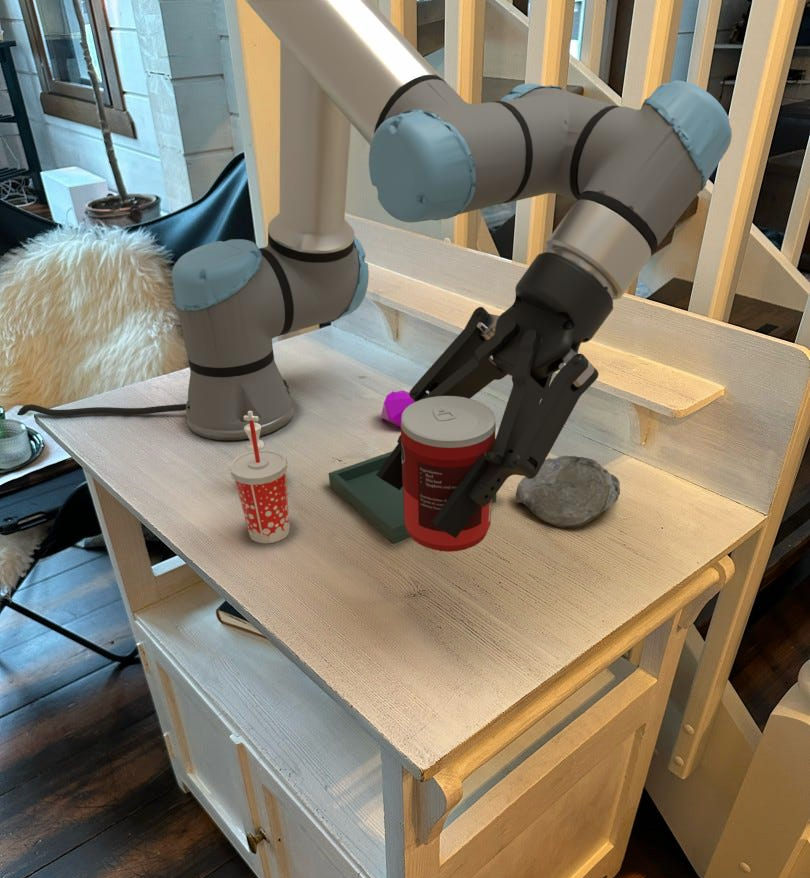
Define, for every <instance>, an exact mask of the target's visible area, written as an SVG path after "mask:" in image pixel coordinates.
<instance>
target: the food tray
mask: <svg viewBox="0 0 810 878" xmlns="http://www.w3.org/2000/svg"><path fill="white" fill-rule="evenodd" d="M392 452H393V450H392V451H389V452H386V453H383V454H380V455H377V456H375V457H374V456H373V457H372V458H368V459H365V460H363V461H359V462H357V463H354V464H351V465H348V466H345V467H342V468H340V469H336V470H334V471H331V472H328V479H329V487H330V489H332V490H333V491H334V492H335V493H336V494H337V495H339V496H340V497H341V498H342V499H343V500H344V501H345V502H346V503H347V504H348V505H350V506H351V507H352V508H353V509H354V510H355V511H356V512H357V513H359V514H360V515H361V516H362V517H363V518H364V519H365V520H366V521H367V522H368V523H370V524H371V525H372V526H373V527H374V528H375V529H376V530H377V531H378V532H380V533H381V534H382V535H383V536H384V537H385V538H387V540H388V541H389V542H391V543H392V544H395V543H398V542H400V541H402V540H405V539H407V538H409V537H410V538H411V536H410V535H409V533H408V531H407V528H406V526H405V522H404V505H403V487H402V488H401V489H400V490H398V489H397V488H395V487H393V486H392V485H390V484H388V483H387V482H385V481H384V480H382V479H380V478H379V477H378V476H377V475H376V474H377V473H378V471H379V470H380V469H381V467H382V466H383V464H384V463H385V462H386V460H387V459H388V457H389V456H390V454H391V453H392ZM495 502H497V493H496V494H495V496H494V497H493V498H492V504H494V503H495Z"/></svg>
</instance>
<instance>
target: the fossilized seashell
mask: <svg viewBox="0 0 810 878" xmlns="http://www.w3.org/2000/svg"><path fill="white" fill-rule="evenodd" d="M620 485H621V484H620V480H619V478H618V477H617V476H616V475H614V474H613V473H611V472H610V471H609V470H608V469H606V468H604V467H603V466H602V465H601V464H600V463H598V461H597V460H594V459H592V458H589V457H583V456H576V455H560V456H559V457H554V458H551V457H547V458H546V459H545V461H544V463H543V465H542V467H541V468H540V470H539V472H538V474H537V475H536V476H535V477H534V478H532V479H528V478H526V477H525V476H523V477H522V479H521V480H520V482H518V483H517V486H516V491H515V497H514V499H515V503H517V504H523V505H524V506H526V507H527V509H528V510H529V511H531V513H532V514H533V515H534V516H535V517H536V518H538V520H540V521H543V522H545V523H547V524H550V525H553V526H555V527H558V528H563V529H571V528H572V529H573V528H577V527H582V526H584V525H586V524H588V523H589V522H590V521H593V520H595V518H596V517H598V516H599V515H600V514H601V513H602V512H604V511H607V510H608V509H610V508H611V507H612V506H613V505H615V503H616V502H617V501H618V500H619V495H620V494H621V486H620Z"/></svg>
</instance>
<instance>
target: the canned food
mask: <svg viewBox="0 0 810 878" xmlns="http://www.w3.org/2000/svg"><path fill="white" fill-rule="evenodd" d="M496 428H497V427H496V416H495V413H494V412H493V410H492V409H491V407H489V406H487V405H486V404H484V403H483V402H480V401H478V400H475V399H472V398H470V399H468V398H464V397H457V396H437V397H430V398H426V399H422V400H419V401H417V402H414V403H413V404H411V405H409V406H408V407H407V408H406V409H405V410H404V411H403V413H402V417H401V428H400V435H401V451H402V478H403V505H404V522H405V526H406V528H407V531H408V533H409V535H410V538H411V539H412V540H413V541H414V542H416V543H417V544H418V545H420V546H422V547H424V548H426V549H429V550H432V551H437V552H444V553H445V552H447V553H452V552H460V551H465V550H468V549H471V548H473V547H475V546H477V545H479V544H481V542H483V540H484V539H485V538H486V536H487V534H488V532H489V529H490V527H491V521H492V505H493V503H492V500H491V501H490V502H489V504H487V505H486V506H485V507H482V506H481V505H480V506H479V508H478V509H477V510H476V512H475V513H474V514H473V516H472V517H471V518H470V520H469V521H468V523H467V524H466V525H465V527H464V528H463V529H462V531H461V532H460V533H459V535H458V536H457V538H455V537H453V536H451V535H450V534H448V533H446V532H444V531H443V530H441V529H439V528H438V527H436V526H435V525H434V524H433V523H431V522H432V521H433V519H434V518H435V516H436V515H437V514H438V512H439V511H440V510H441V508H442V507H443V505H444V504H445V503H446V501H447V500H448V499H449V497H450V496H451V494H452V493H453V492H454V490H455V489H456V488H457V486H458V485H459V483H460V482H461V481H462V479H463V478H464V477H465V475H466V474H467V472H468V471H469V470H470V468H471V467H472V466H473V464H474V463H475V462H476V461H477V459H478V458H479V456H481V457H483V458H484V459H485V460H487V459H486V458H485V455H484V453H485V452H491V451H492V448H493V445H494V442H495V439H496ZM487 461H488V462H489V463H490V461H489V460H487Z"/></svg>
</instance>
